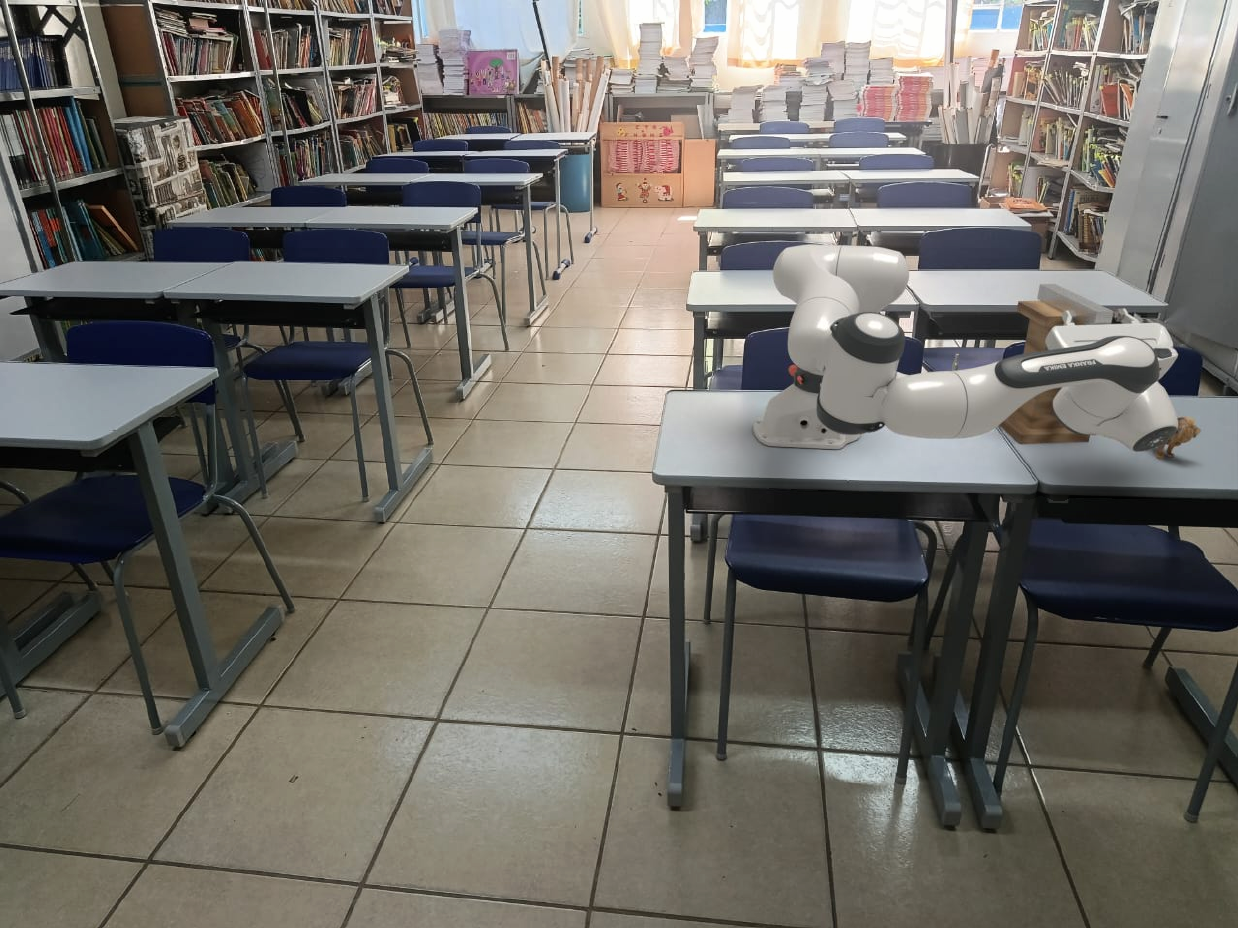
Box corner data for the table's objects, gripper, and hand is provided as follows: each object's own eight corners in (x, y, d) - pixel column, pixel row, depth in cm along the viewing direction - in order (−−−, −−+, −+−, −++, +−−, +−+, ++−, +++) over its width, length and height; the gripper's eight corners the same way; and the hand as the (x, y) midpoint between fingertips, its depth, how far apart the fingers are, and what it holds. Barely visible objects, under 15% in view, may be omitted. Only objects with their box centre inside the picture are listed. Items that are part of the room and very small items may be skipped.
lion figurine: (1196, 464, 157) (1209, 420, 153) (1171, 466, 156) (1183, 422, 153) (1139, 434, 170) (1150, 393, 166) (1116, 437, 170) (1126, 395, 166)
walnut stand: (1019, 443, 168) (1043, 318, 157) (990, 418, 180) (1011, 300, 169) (1088, 441, 168) (1117, 316, 157) (1055, 416, 180) (1079, 298, 169)
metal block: (1093, 328, 150) (1097, 311, 149) (1037, 298, 170) (1039, 284, 169) (1110, 327, 150) (1113, 311, 149) (1051, 298, 170) (1054, 283, 169)
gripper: (1053, 382, 147) (1029, 325, 155) (1169, 378, 147) (1139, 322, 155) (1068, 358, 142) (1043, 301, 150) (1188, 354, 142) (1156, 297, 150)
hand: (1093, 312), depth 152 cm, fingers open, 8 cm apart
